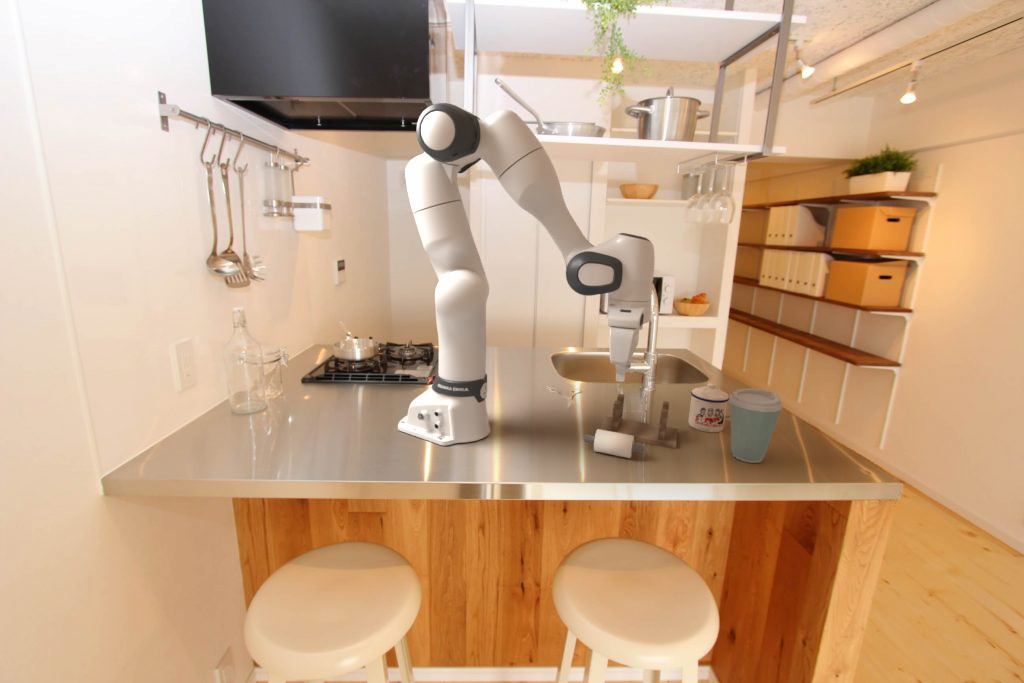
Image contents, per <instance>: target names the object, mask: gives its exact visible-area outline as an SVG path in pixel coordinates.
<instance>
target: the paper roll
mask: <svg viewBox="0 0 1024 683" xmlns="http://www.w3.org/2000/svg"><path fill="white" fill-rule="evenodd" d="M583 441H584V442H586V443H590V444H593V451H594V452H596V453H601V454H606V455H611V456H616V457H621V458H626V459H631V458H632V456H633V452H637V453H641V454H644V451H645V445H642V444H637V443H634V442H635V441H634V436H632V435H627V434H622V433H616V432H611V431H605V430H600V428H597V429H596V431H595V434H594V435H592V434H591V435H590V434H585V435H584V440H583Z"/></svg>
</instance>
